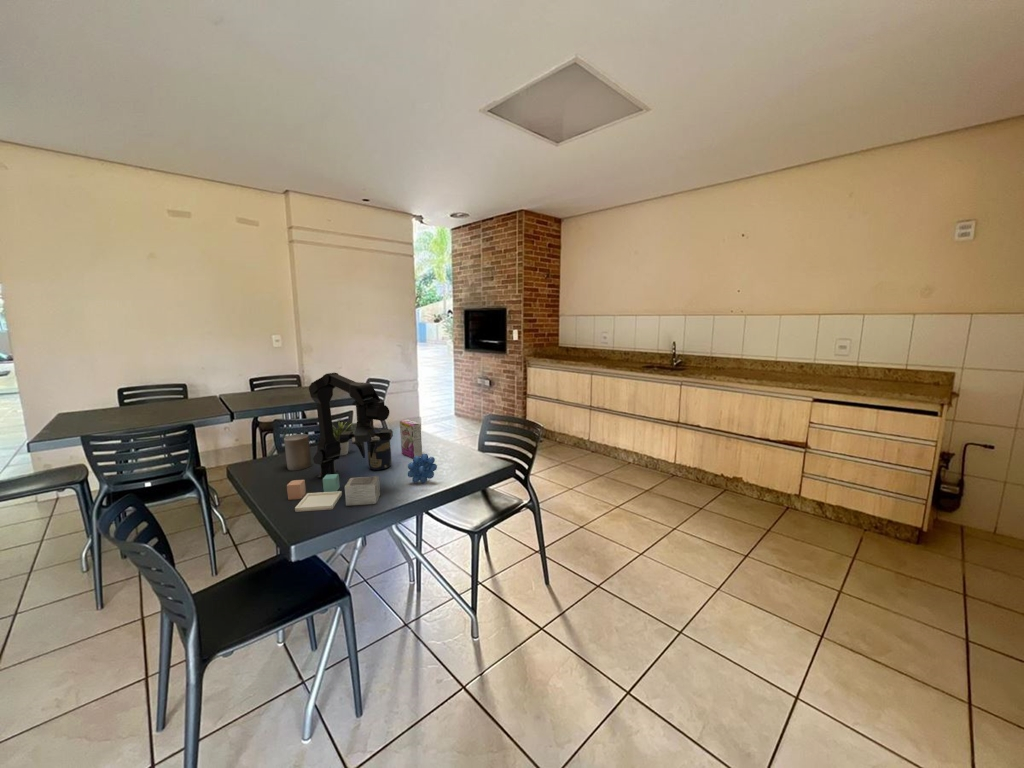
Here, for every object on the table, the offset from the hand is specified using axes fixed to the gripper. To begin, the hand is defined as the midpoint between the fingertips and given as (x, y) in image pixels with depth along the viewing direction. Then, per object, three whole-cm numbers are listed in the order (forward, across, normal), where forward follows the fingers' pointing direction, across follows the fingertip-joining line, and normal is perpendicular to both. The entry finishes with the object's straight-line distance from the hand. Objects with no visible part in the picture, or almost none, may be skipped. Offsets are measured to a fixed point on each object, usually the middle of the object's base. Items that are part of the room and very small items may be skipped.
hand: (367, 457), depth 155 cm
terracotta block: (+12, -25, -4) cm, 28 cm away
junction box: (+12, 0, -11) cm, 16 cm away
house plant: (+12, -22, +43) cm, 50 cm away
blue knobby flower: (+12, +20, +2) cm, 24 cm away
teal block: (+12, -14, 0) cm, 19 cm away
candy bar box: (+12, +12, +36) cm, 40 cm away
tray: (+12, -15, -11) cm, 22 cm away
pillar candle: (+12, -36, +29) cm, 48 cm away
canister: (+12, 0, +22) cm, 25 cm away
